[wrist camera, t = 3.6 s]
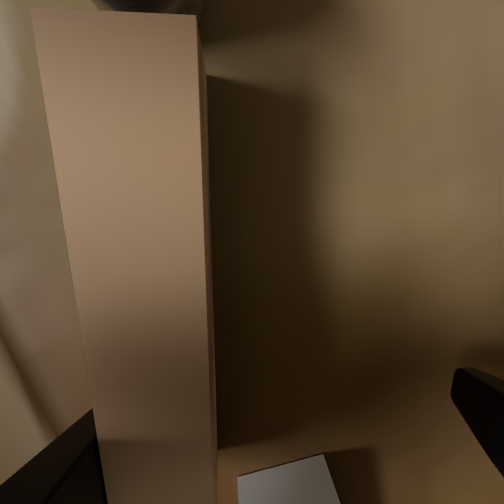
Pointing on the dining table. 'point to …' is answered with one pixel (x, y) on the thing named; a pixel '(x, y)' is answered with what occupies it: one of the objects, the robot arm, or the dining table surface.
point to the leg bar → (138, 240)
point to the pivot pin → (154, 6)
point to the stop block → (289, 484)
